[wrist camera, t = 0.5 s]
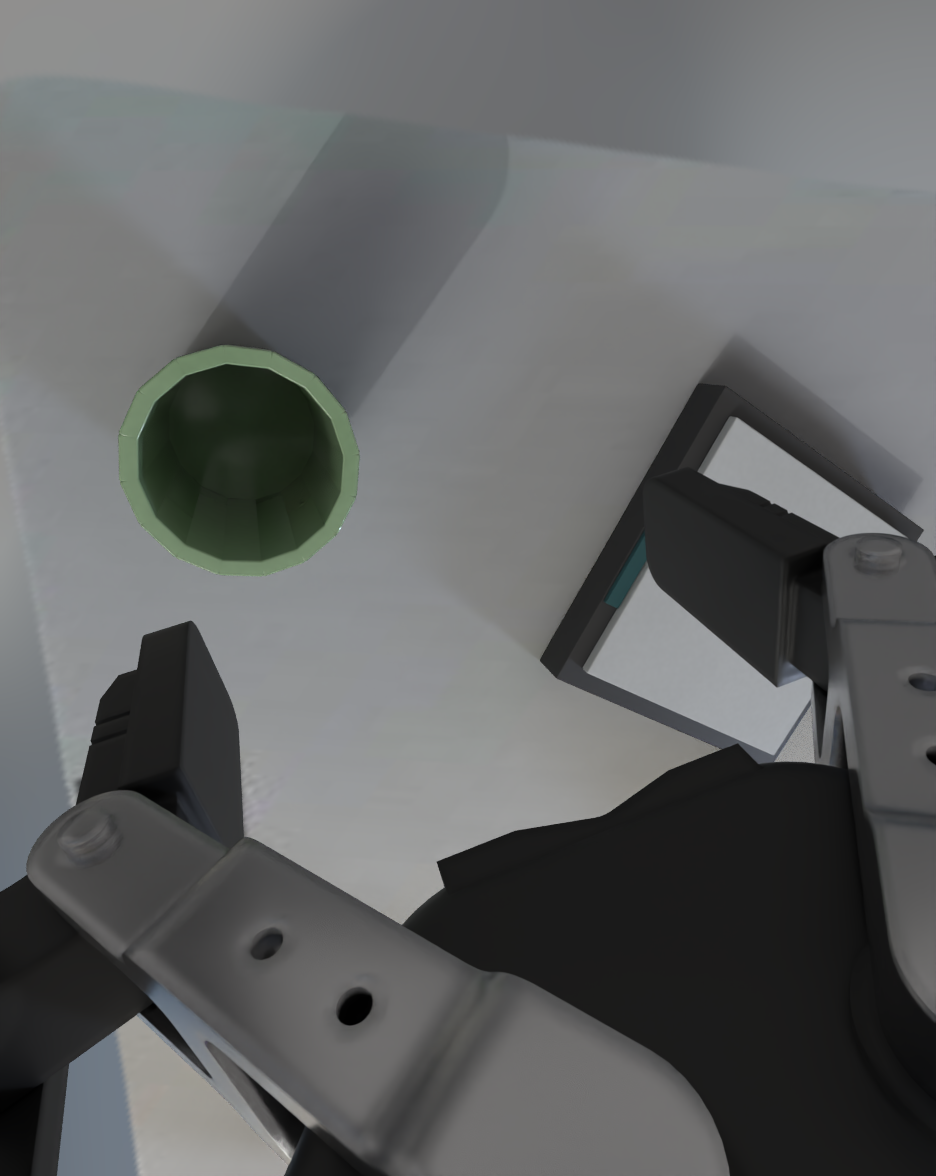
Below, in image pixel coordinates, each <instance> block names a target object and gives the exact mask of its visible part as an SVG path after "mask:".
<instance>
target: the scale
mask: <svg viewBox="0 0 936 1176" xmlns="http://www.w3.org/2000/svg"><path fill="white" fill-rule="evenodd" d="M684 467H689V468H692V469H694V470H695V471H697V472H699V473H701V474H703V475H705V476H706V477H708V478H710V479H712V480H714V481H716V482H717V483H719V484H725V485H729V486H733V487H738V488H742V489H747V490H750V491H752V492H754V493H756V494H758V495H760V496H762V497H763V498H765V499H767V500H769V501H770V503H771V504H774V503H775V504H777V505H779V506H780V507H782V508H784V509H786V510H787V511H788V513H794V514H796V515H798V516H799V517H801V518H803V519H805V520H807V521H809V522H811V523H813V524H815V525H817V526H818V527H820V528H822V529H824V530H826V531H828V532H830V533H832V534H834V535H836V536H837V537H839V538H841V537H844V536H848V535H852V534H859V533H885V534H893V535H898V536H902V537H906V538H909V539H912V540H914V541H917V540H918V538H919V537H920V535H921V534H922V532H923V531H924V530H923V529H922V528H921V527H919V526H918V525H916V524H915V523H914V522H912V521H911V520H910V519H908V518H907V517H905V516H904V515H903V514H901V513H900V512H899V511H897V510H896V509H894V508H893V507H892V506H890V505H889V504H888V503H886V502H885V501H883V500H882V499H881V498H879V497H878V496H877V495H875V494H874V493H872V492H871V491H870V490H868V489H867V488H866V487H864V486H863V485H861V484H860V483H859V482H857V481H856V480H854V479H853V478H852V477H850V476H849V475H848V474H846V473H845V472H843V471H842V470H841V469H839V468H838V467H837V466H835V465H834V464H832V463H831V462H830V461H828V460H827V459H826V458H824V457H823V456H821V455H820V454H819V453H817V452H816V451H815V450H813V449H812V448H810V447H809V446H808V445H806V444H805V443H804V442H802V441H801V440H799V439H798V438H797V437H795V436H794V435H793V434H791V433H790V432H788V431H787V430H786V429H784V428H783V427H782V426H780V425H779V424H777V423H776V422H775V421H773V420H772V419H770V418H769V417H768V416H766V415H765V414H764V413H762V412H761V411H759V410H758V409H757V408H755V407H754V406H753V405H751V404H750V403H748V402H747V401H746V400H744V399H743V398H742V397H740V396H739V395H737V394H736V393H735V392H733V391H732V390H731V389H729V388H728V387H726V386H719V385H708V384H698V385H697V387H696V389H695V391H694V392H693V394H692V396H691V398H690V399H689V401H688V403H687V405H686V406H685V408H684V410H683V411H682V413H681V415H680V417H679V418H678V420H677V422H676V424H675V425H674V427H673V429H672V431H671V432H670V434H669V436H668V438H667V439H666V441H665V443H664V445H663V446H662V448H661V450H660V452H659V453H658V455H657V457H656V459H655V460H654V462H653V464H652V466H651V467H650V469H649V471H648V473H647V474H646V476H645V478H644V480H643V481H642V483H641V485H640V487H639V488H638V490H637V492H636V494H635V495H634V497H633V499H632V501H631V502H630V504H629V506H628V507H627V509H626V511H625V513H624V514H623V516H622V518H621V520H620V521H619V523H618V525H617V527H616V528H615V530H614V532H613V534H612V535H611V537H610V539H609V541H608V542H607V544H606V546H605V548H604V549H603V551H602V553H601V555H600V556H599V558H598V560H597V562H596V563H595V565H594V567H593V569H592V570H591V572H590V574H589V576H588V577H587V579H586V581H585V583H584V584H583V586H582V588H581V590H580V591H579V593H578V595H577V597H576V598H575V600H574V602H573V603H572V605H571V607H570V609H569V610H568V612H567V614H566V616H565V617H564V619H563V621H562V623H561V624H560V626H559V628H558V630H557V631H556V633H555V635H554V637H553V638H552V640H551V642H550V644H549V645H548V647H547V649H546V651H545V652H544V654H543V656H542V658H541V659H540V661H541V662H542V664H543V665H544V666H545V667H546V668H547V669H548V670H549V671H550V672H551V673H552V674H553V675H554V676H555V677H556V678H557V679H559V680H561V681H564V682H566V683H568V684H571V685H573V686H575V687H578V688H580V689H582V690H585V691H587V692H589V693H592V694H594V695H596V696H599V697H601V698H603V699H606V700H608V701H610V702H613V703H615V704H617V705H620V706H622V707H624V708H627V709H629V710H631V711H634V712H636V713H638V714H641V715H643V716H645V717H648V718H650V719H652V720H655V721H657V722H659V723H662V724H664V725H666V726H669V727H671V728H673V729H676V730H678V731H680V732H683V733H685V734H687V735H690V736H692V737H694V738H697V739H699V740H701V741H704V742H706V743H708V744H711V745H713V746H715V747H718V748H720V749H724V748H727V747H729V746H732V745H735V744H737V743H738V744H739V745H740V746H741V747H742V748H743V749H744V750H745V751H746V752H747V753H748V754H749V755H750V756H751V757H752V758H753V759H754V760H755V761H756V762H757V763H758V764H761V763H770V762H774V761H775V760H776V758H777V757H778V755H779V753H780V752H781V750H782V749H783V747H784V746H785V744H786V743H787V741H788V740H789V738H790V736H791V735H792V733H793V732H794V730H795V729H796V727H797V726H798V724H799V723H800V721H801V719H802V718H803V716H804V715H805V713H806V712H807V710H808V709H809V707H810V705H811V688H812V680H811V679H810V678H808V677H804V678H801V679H799V680H796V681H794V682H791V683H788V684H786V685H783V686H781V687H778V688H777V687H776V686H774V685H773V684H772V683H771V682H770V681H769V680H767V679H766V678H765V677H764V676H763V675H762V674H760V673H759V672H758V671H757V670H756V669H754V668H753V667H752V666H751V665H750V664H749V663H747V662H746V661H745V660H744V659H743V658H742V657H740V656H739V655H738V654H737V653H736V652H735V651H733V650H732V649H731V648H730V647H729V646H727V645H726V644H725V643H724V642H723V641H722V640H720V639H719V638H718V637H717V636H716V635H715V634H713V633H712V632H711V631H710V630H709V629H708V628H706V627H705V626H704V625H703V624H702V623H700V622H699V621H698V620H697V619H696V618H695V617H693V616H692V615H691V614H690V613H689V612H688V611H686V610H685V609H684V608H683V607H682V606H681V605H679V604H678V603H677V602H676V601H675V600H673V599H672V598H671V597H670V596H669V595H668V594H666V593H665V592H664V591H663V590H662V589H661V588H660V587H659V586H658V585H657V584H656V582H655V581H654V579H653V577H652V575H651V573H650V570H649V567H648V564H647V558H646V545H645V528H644V511H643V486H644V483H645V481H646V480H647V479H649V478H652V477H655V476H659V475H662V474H665V473H668V472H671V471H675V470H678V469H681V468H684Z"/></svg>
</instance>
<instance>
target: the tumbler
mask: <svg viewBox="0 0 936 1176" xmlns="http://www.w3.org/2000/svg"><path fill="white" fill-rule="evenodd" d="M118 446H119V480H120V481H121V482H120V484H121V486H122V488H123V490H124V493H125V495H126V497H127V499H128V501H129V503H130V505H131V507H132V510H133V512H134V514H135V516H136V518H137V520H138V522H139V524H141V527H142V528H143V529H145V530H146V531H147V532H148V533H149V534H150V535H151V536H152V537H153V538H154V539H155V540H156V541H158V542H159V543H160V544H161V545H162V546H163V547H164V548H165V549H166V550H167V551H168V552H169V553H170V554H172V555H173V556H174V557H176V558H177V559H180V560H182V561H185V562H187V563H190V564H192V565H195V566H197V567H200V568H202V569H204V570H207V571H209V572H212V573H214V574H219V575H230V576H267V575H270V574H273V573H275V572H278V571H281V570H284V569H287V568H290V567H293V566H296V565H299V564H301V563H304V562H305V561H307V560H308V559H310V558H311V557H312V556H313V555H314V554H315V553H317V552H318V551H319V550H320V549H321V548H322V547H323V546H325V545H326V544H327V543H328V542H329V541H330V540H332V539H333V538H334V537H335V536H336V535H337V533H339V531H340V529H341V527H342V525H343V523H344V521H345V519H346V517H347V515H348V513H349V511H350V509H351V507H352V505H353V503H354V501H355V499H356V495H357V486H358V473H359V460H360V455H359V449H358V446H357V443H356V440H355V437H354V434H353V431H352V428H351V425H350V421H349V418H348V415H347V412H346V411H345V409H344V408H343V407H342V405H341V404H340V403H339V402H338V401H337V399H336V398H335V397H334V396H333V395H332V393H331V392H330V391H329V390H328V389H327V387H326V386H325V385H324V384H323V383H322V381H321V380H320V379H319V378H318V377H317V376H316V375H315V374H314V373H312V372H310V371H309V370H307V369H305V368H303V367H301V366H300V365H298V364H296V363H294V362H292V361H291V360H289V359H287V358H285V357H283V356H281V355H280V354H278V353H276V352H274V351H271V350H267V349H263V348H257V347H249V346H241V345H233V344H225V345H219V346H215V347H212V348H208V349H205V350H201V351H198V352H194V353H191V354H187V355H184V356H180V357H177V358H176V359H173V360H172V361H171V362H170V363H168V364H167V365H166V366H165V367H164V368H163V369H161V370H160V371H159V372H158V373H157V374H156V375H154V376H153V377H152V378H151V379H150V380H148V381H147V382H146V383H145V384H144V385H143V386H141V387H140V388H139V390H138V391H137V392H136V395H135V397H134V399H133V401H132V404H131V406H130V408H129V410H128V413H127V415H126V417H125V419H124V422H123V424H122V426H121V428H120V431H119V435H118Z"/></svg>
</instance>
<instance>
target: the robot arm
mask: <svg viewBox="0 0 936 1176" xmlns="http://www.w3.org/2000/svg"><path fill="white" fill-rule="evenodd" d="M643 511H644V528H645V545H646V558H647V564H648V567H649V570H650V573H651V575H652V577H653V579H654V581H655V582H656V584H657V585H658V586H659V587H660V588H661V589H662V590H663V591H664V592H665V593H666V594H668V595H669V596H670V597H671V598H672V599H673V600H675V601H676V602H677V603H678V604H679V605H681V606H682V607H683V608H684V609H685V610H686V611H688V612H689V613H690V614H691V615H692V616H693V617H695V618H696V619H697V620H698V621H699V622H700V623H702V624H703V625H704V626H705V627H706V628H708V629H709V630H710V631H711V632H712V633H713V634H715V635H716V636H717V637H718V638H719V639H720V640H722V641H723V642H724V643H725V644H726V645H727V646H729V647H730V648H731V649H732V650H733V651H735V652H736V653H737V654H738V655H739V656H740V657H742V658H743V659H744V660H745V661H746V662H747V663H749V664H750V665H751V666H752V667H753V668H754V669H756V670H757V671H758V672H759V673H760V674H762V675H763V676H764V677H765V678H766V679H767V680H769V681H770V682H771V683H772V684H773V685H774V686H776V687H777V688H778V687H781V686H783V685H786V684H788V683H791V682H794V681H796V680H799V679H801V678H804V677H808V678H810V679H811V680H812V688H811V713H812V728H813V743H814V757H815V763H807V762H770V763H761V764H758V763H757V762H756V761H755V760H754V759H753V758H752V757H751V756H750V755H749V754H748V753H747V752H746V751H745V750H744V749H743V748H742V747H741V746H740V745H739V744H738V743H737V744H735V745H732V746H729V747H727V748H724V749H722V750H719V751H717V752H714V753H712V754H709V755H707V756H704V757H701V758H699V759H696V760H694V761H691V762H689V763H686V764H684V765H681V766H679V767H676V768H674V769H671V770H668V771H667V772H666V773H664V774H663V775H661V776H660V777H659V778H657V779H656V780H654V781H653V782H651V783H650V784H649V785H647V786H646V787H644V788H643V789H642V790H640V791H639V792H637V793H636V794H635V795H633V796H632V797H630V798H629V799H628V800H626V801H625V802H623V803H622V804H620V805H619V806H618V807H616V808H615V809H613V810H612V811H611V812H609V813H607V814H605V815H603V816H600V817H596V818H591V819H585V820H579V821H572V822H566V823H560V824H554V825H548V826H542V827H536V828H530V829H523V830H517V831H514V832H511V833H508V834H506V835H503V836H501V837H498V838H496V839H493V840H491V841H488V842H486V843H483V844H480V845H478V846H475V847H473V848H470V849H468V850H465V851H463V852H460V853H458V854H455V855H453V856H450V857H447V858H445V859H442V860H440V861H437V864H438V868H439V871H440V874H441V877H442V880H443V884H444V887H445V888H443V889H442V890H440V891H439V892H438V893H436V894H435V895H433V896H432V897H431V898H429V899H428V900H427V901H426V902H425V903H424V904H423V905H421V906H420V907H419V908H418V909H417V910H416V911H415V912H414V913H413V914H412V915H411V916H410V917H409V918H408V919H407V920H406V921H405V922H404V924H403V925H400V924H399V923H397V922H395V921H394V920H392V919H390V918H388V917H387V916H385V915H383V914H382V913H380V912H378V911H377V910H375V909H373V908H371V907H370V906H368V905H366V904H365V903H363V902H361V901H359V900H358V899H356V898H354V897H353V896H351V895H349V894H348V893H346V892H344V891H342V890H341V889H339V888H337V887H336V886H334V885H332V884H330V883H329V882H327V881H325V880H324V879H322V878H320V877H318V876H317V875H315V874H313V873H312V872H310V871H308V870H307V869H305V868H303V867H301V866H300V865H298V864H296V863H295V862H293V861H291V860H289V859H288V858H286V857H284V856H283V855H281V854H279V853H278V852H276V851H274V850H272V849H271V848H269V847H267V846H266V845H264V844H262V843H260V842H259V841H257V840H255V839H252V838H249V837H244V830H243V809H242V788H241V767H240V746H239V729H238V723H237V719H236V715H235V711H234V708H233V705H232V702H231V699H230V697H229V694H228V692H227V690H226V688H225V686H224V684H223V681H222V679H221V677H220V675H219V673H218V671H217V668H216V666H215V664H214V662H213V660H212V658H211V655H210V653H209V651H208V649H207V647H206V645H205V643H204V640H203V638H202V636H201V634H200V632H199V630H198V628H197V627H196V625H195V624H194V623H193V622H192V621H188V622H185V623H181V624H178V625H175V626H172V627H169V628H165V629H162V630H159V631H156V632H153V633H149V634H146V635H144V636H143V638H142V643H141V649H140V655H139V662H138V668H137V670H134V671H131V672H127V673H124V674H121V675H118V677H117V678H116V679H115V681H114V682H113V683H112V685H111V686H110V687H109V689H108V690H107V691H106V693H105V694H104V695H103V696H102V698H101V699H100V703H99V707H98V711H97V716H96V720H95V723H96V726H94V729H93V733H92V737H91V743H92V745H91V746H89V750H88V755H87V759H86V763H85V768H84V772H83V776H82V781H81V785H80V789H79V794H78V798H77V802H76V806H74V807H72V808H71V809H69V810H68V811H66V812H65V813H63V814H62V815H61V816H60V817H58V818H57V819H56V820H55V821H54V822H53V823H51V824H50V826H48V827H47V828H46V830H45V831H44V832H43V833H42V834H41V835H40V837H39V838H38V839H37V841H36V842H35V844H34V846H33V847H32V849H31V851H30V854H29V856H28V860H27V868H26V869H27V875H26V876H25V877H23V878H22V879H21V880H19V881H17V882H16V883H14V884H13V885H12V886H10V887H8V888H6V889H5V890H3V891H1V892H0V1176H57V1168H58V1159H59V1150H60V1141H61V1132H62V1123H63V1114H64V1104H65V1096H66V1087H67V1077H68V1068H69V1063H70V1062H72V1061H73V1060H75V1059H76V1058H77V1057H79V1056H80V1055H81V1054H83V1053H84V1052H86V1051H87V1050H88V1049H90V1048H91V1047H92V1046H94V1045H95V1044H97V1043H98V1042H99V1041H101V1040H102V1039H104V1038H105V1037H106V1036H108V1035H109V1034H111V1033H112V1032H113V1031H115V1030H116V1029H118V1028H119V1027H120V1026H122V1025H123V1024H125V1023H126V1022H127V1021H129V1020H130V1019H131V1018H133V1017H134V1016H136V1015H137V1016H138V1017H139V1018H140V1019H141V1020H142V1021H143V1022H144V1023H145V1024H146V1025H147V1026H148V1027H150V1028H151V1029H152V1030H153V1031H154V1032H155V1033H156V1034H157V1035H158V1036H159V1037H160V1038H161V1039H162V1040H163V1041H164V1042H165V1043H166V1044H168V1045H169V1046H170V1047H171V1048H172V1049H173V1050H174V1051H175V1052H176V1053H177V1054H178V1055H179V1056H180V1057H181V1058H182V1059H183V1060H184V1061H185V1062H187V1063H188V1064H189V1065H190V1066H191V1067H192V1068H193V1069H194V1070H195V1071H196V1072H197V1073H198V1074H199V1075H200V1076H201V1077H202V1078H203V1079H205V1080H206V1081H207V1082H208V1083H209V1084H210V1085H211V1086H212V1087H213V1088H214V1089H215V1090H216V1091H217V1092H218V1093H219V1094H220V1095H221V1096H222V1097H223V1098H224V1099H225V1100H226V1101H227V1102H228V1103H229V1104H230V1105H231V1106H232V1107H233V1108H234V1109H235V1110H236V1111H237V1112H238V1113H239V1115H240V1116H241V1117H242V1118H243V1119H244V1120H245V1121H246V1123H247V1124H248V1125H249V1126H250V1127H251V1128H252V1129H253V1130H254V1131H255V1133H256V1134H257V1135H258V1136H259V1137H260V1138H261V1139H262V1140H263V1141H264V1142H265V1143H266V1144H267V1145H268V1146H269V1147H270V1148H271V1149H272V1150H273V1151H274V1152H275V1153H276V1154H277V1155H278V1156H279V1157H280V1158H281V1159H282V1160H283V1161H284V1162H285V1163H286V1164H287V1165H288V1168H287V1170H286V1173H285V1175H284V1176H936V556H934V555H933V553H932V552H931V551H930V550H929V549H928V548H927V547H926V546H924V545H923V544H921V543H919V542H917V541H914V540H912V539H909V538H906V537H902V536H898V535H893V534H885V533H859V534H852V535H848V536H844V537H841V538H839V537H837V536H836V535H834V534H832V533H830V532H828V531H826V530H824V529H822V528H820V527H818V526H817V525H815V524H813V523H811V522H809V521H807V520H805V519H803V518H801V517H799V516H798V515H796V514H794V513H788V511H787V510H786V509H784V508H782V507H780V506H779V505H777V504H775V503H774V504H771V503H770V501H769V500H767V499H765V498H763V497H762V496H760V495H758V494H756V493H754V492H752V491H750V490H747V489H742V488H738V487H733V486H729V485H725V484H719V483H717V482H716V481H714V480H712V479H710V478H708V477H706V476H705V475H703V474H701V473H699V472H697V471H695V470H694V469H692V468H689V467H684V468H681V469H678V470H675V471H671V472H668V473H665V474H662V475H659V476H655V477H652V478H649V479H647V480H646V481H645V483H644V486H643Z"/></svg>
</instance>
